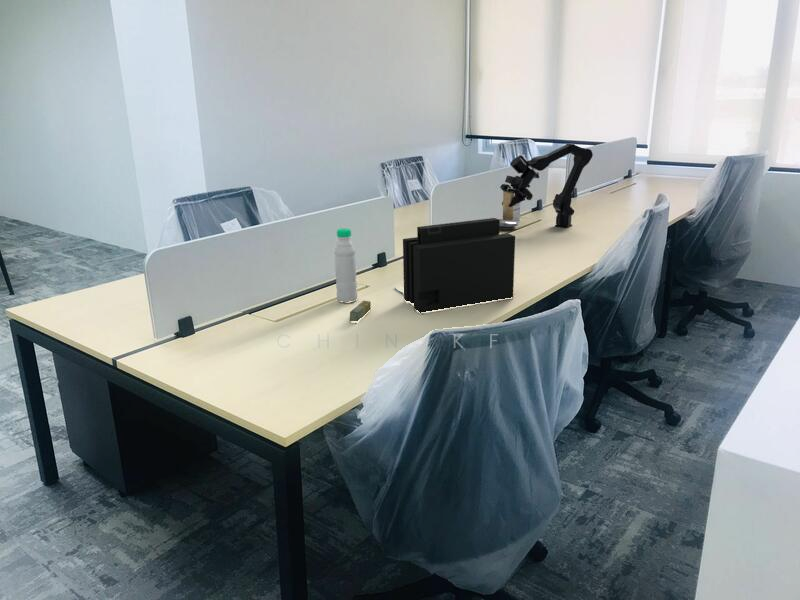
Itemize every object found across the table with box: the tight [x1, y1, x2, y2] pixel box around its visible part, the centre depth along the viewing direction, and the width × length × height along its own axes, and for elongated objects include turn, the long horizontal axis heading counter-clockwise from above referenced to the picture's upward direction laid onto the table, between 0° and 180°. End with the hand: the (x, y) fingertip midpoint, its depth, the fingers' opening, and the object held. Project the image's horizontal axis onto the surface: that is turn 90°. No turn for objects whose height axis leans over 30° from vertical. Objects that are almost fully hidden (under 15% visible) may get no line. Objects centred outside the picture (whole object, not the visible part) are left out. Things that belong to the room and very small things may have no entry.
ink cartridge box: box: [513, 193, 521, 222], centre depth 344 cm, size 9×5×15 cm, turn 84°
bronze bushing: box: [502, 191, 515, 220], centre depth 316 cm, size 5×5×13 cm
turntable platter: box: [498, 218, 519, 228], centre depth 329 cm, size 13×13×1 cm
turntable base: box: [499, 226, 516, 231], centre depth 330 cm, size 10×10×2 cm
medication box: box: [349, 300, 372, 322], centre depth 213 cm, size 12×3×4 cm, turn 162°
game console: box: [402, 217, 516, 313], centre depth 230 cm, size 35×30×27 cm
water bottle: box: [333, 227, 358, 302], centre depth 226 cm, size 7×7×25 cm
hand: (505, 205), depth 316 cm, fingers closed on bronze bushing, 5 cm apart
